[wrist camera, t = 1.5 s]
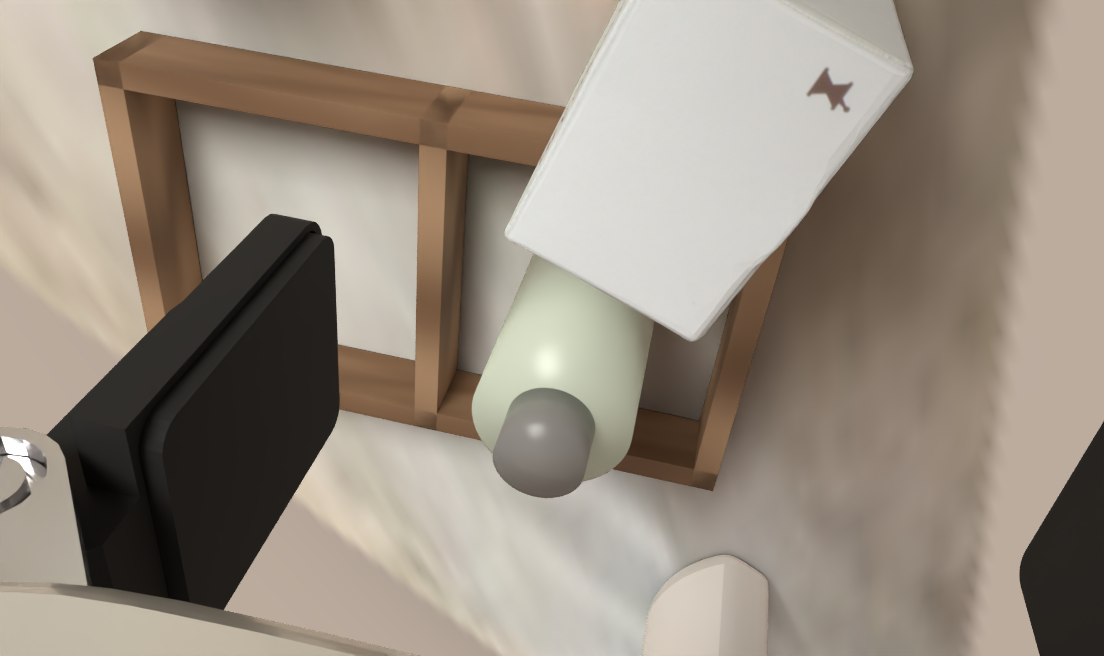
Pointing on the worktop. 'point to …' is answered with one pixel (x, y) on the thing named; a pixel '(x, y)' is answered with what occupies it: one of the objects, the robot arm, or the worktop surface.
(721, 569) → the eye dropper bottle
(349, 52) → the worktop surface
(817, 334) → the worktop surface
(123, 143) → the wooden frame
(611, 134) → the skincare box
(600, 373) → the sage bottle
